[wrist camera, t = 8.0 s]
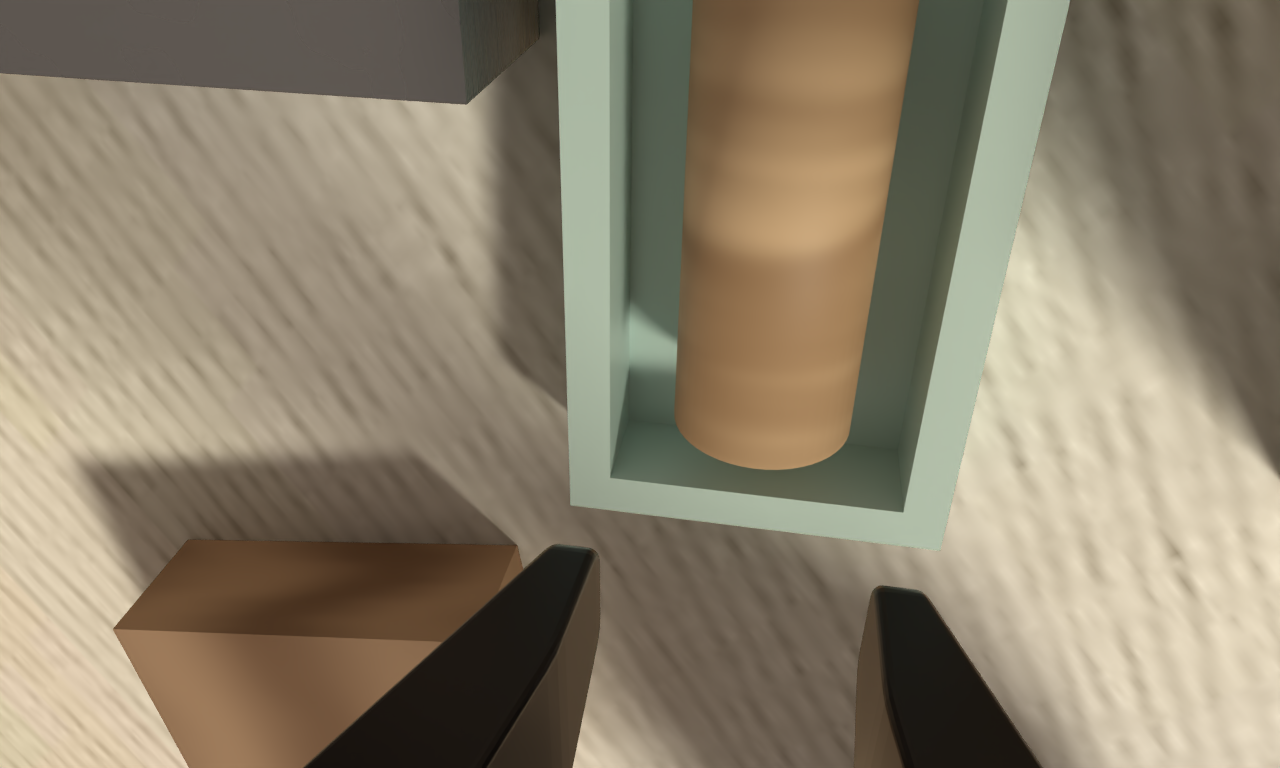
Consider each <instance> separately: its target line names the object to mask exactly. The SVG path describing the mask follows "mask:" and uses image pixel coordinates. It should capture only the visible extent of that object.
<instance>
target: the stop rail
mask: <svg viewBox="0 0 1280 768" xmlns="http://www.w3.org/2000/svg"><path fill="white" fill-rule="evenodd" d="M538 39H539V22H538V0H0V73H6V74H21V75H36V76H51V77H65V78H80V79H95V80H110V81H125V82H140V83H154V84H169V85H184V86H199V87H214V88H229V89H243V90H258V91H273V92H288V93H303V94H318V95H332V96H347V97H362V98H377V99H392V100H407V101H421V102H436V103H451V104H466V105H467V104H468V103H469V102H470V101H471V100H472V99H473V98H474V97H475V96H476V95H478V94H479V93H480V92H481V91H482V90H483V89H484V88H485V87H486V86H487V85H489V84H490V83H491V82H492V81H493V80H494V79H495V78H496V77H497V76H498V75H500V74H501V73H502V72H503V71H504V70H505V69H506V68H507V67H508V66H509V65H511V64H512V63H513V62H514V61H515V60H516V59H517V58H518V57H519V56H520V55H522V54H523V53H524V52H525V51H526V50H527V49H528V48H529V47H530V46H531V45H533V44H534V43H535V42H536V41H537V40H538Z"/></svg>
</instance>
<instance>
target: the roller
mask: <svg viewBox="0 0 1280 768" xmlns="http://www.w3.org/2000/svg"><path fill="white" fill-rule="evenodd" d="M918 6H919V0H693V7H692V29H691V51H690V74H689V96H688V118H687V140H686V162H685V184H684V207H683V229H682V251H681V273H680V295H679V317H678V339H677V362H676V384H675V406H674V417H675V422H676V425H677V427H678V429H679V431H680V433H681V434H682V435H683V436H684V438H685V439H686V440H687V441H688V442H689V443H690V444H692V445H693V446H694V447H696V448H697V449H698V450H700V451H702V452H703V453H705V454H707V455H709V456H711V457H713V458H716V459H718V460H721V461H723V462H726V463H729V464H733V465H737V466H741V467H747V468H753V469H763V470H783V469H793V468H800V467H804V466H808V465H812V464H815V463H817V462H820V461H822V460H824V459H826V458H828V457H830V456H832V455H833V454H834V453H836V452H837V451H838V450H839V449H840V448H841V447H842V446H843V445H844V443H845V442H846V440H847V438H848V436H849V431H850V425H851V419H852V413H853V407H854V401H855V394H856V388H857V382H858V376H859V370H860V364H861V357H862V351H863V345H864V339H865V333H866V327H867V320H868V314H869V308H870V302H871V296H872V290H873V283H874V277H875V271H876V265H877V259H878V253H879V246H880V240H881V234H882V228H883V222H884V216H885V209H886V203H887V197H888V191H889V185H890V179H891V172H892V166H893V160H894V154H895V148H896V142H897V135H898V129H899V123H900V117H901V111H902V105H903V98H904V92H905V86H906V80H907V74H908V68H909V61H910V55H911V49H912V43H913V37H914V31H915V24H916V18H917V12H918Z"/></svg>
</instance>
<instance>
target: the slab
mask: <svg viewBox="0 0 1280 768" xmlns="http://www.w3.org/2000/svg"><path fill="white" fill-rule="evenodd" d="M522 570H523V567H522V563H521V559H520V555H519V551H518V547H517V545H476V544H417V543H357V542H298V541H239V540H187V542H186V543H185V544H184V545H183V546H182V548H181V549H180V550H179V551H178V552H177V553H176V555H175V556H174V557H173V558H172V559H171V561H170V562H169V563H168V564H167V565H166V567H165V568H164V569H163V570H162V571H161V572H160V574H159V575H158V576H157V577H156V578H155V580H154V581H153V582H152V583H151V584H150V586H149V587H148V588H147V589H146V590H145V591H144V593H143V594H142V595H141V596H140V597H139V599H138V600H137V601H136V602H135V603H134V605H133V606H132V607H131V608H130V609H129V611H128V612H127V613H126V614H125V615H124V616H123V618H122V619H121V620H120V621H119V622H118V624H117V625H116V626H115V627H114V628H113V630H114V632H115V634H116V636H117V638H118V639H119V641H120V643H121V645H122V647H123V648H124V650H125V652H126V654H127V656H128V658H129V659H130V661H131V663H132V665H133V667H134V668H135V670H136V672H137V674H138V676H139V678H140V679H141V681H142V683H143V685H144V687H145V688H146V690H147V692H148V694H149V696H150V698H151V699H152V701H153V703H154V705H155V707H156V708H157V710H158V712H159V714H160V716H161V718H162V719H163V721H164V723H165V725H166V727H167V728H168V730H169V732H170V734H171V736H172V738H173V739H174V741H175V743H176V745H177V747H178V748H179V750H180V752H181V754H182V756H183V758H184V759H185V761H186V763H187V765H188V767H189V768H303V767H304V766H305V765H306V764H307V763H308V762H309V761H310V760H312V759H313V758H314V757H315V756H316V755H317V754H318V753H319V752H320V751H322V750H323V749H324V748H325V747H326V746H327V745H328V744H329V743H330V742H332V741H333V740H334V739H335V738H336V737H337V736H338V735H339V734H341V733H342V732H343V731H344V730H345V729H346V728H347V727H348V726H349V725H351V724H352V723H353V722H354V721H355V720H356V719H357V718H358V717H359V716H361V715H362V714H363V713H364V712H365V711H366V710H367V709H368V708H369V707H371V706H372V705H373V704H374V703H375V702H376V701H377V700H378V699H380V698H381V697H382V696H383V695H384V694H385V693H386V692H387V691H388V690H390V689H391V688H392V687H393V686H394V685H395V684H396V683H397V682H398V681H400V680H401V679H402V678H403V677H404V676H405V675H406V674H407V673H408V672H410V671H411V670H412V669H413V668H414V667H415V666H416V665H417V664H419V663H420V662H421V661H422V660H423V659H424V658H425V657H426V656H427V655H429V654H430V653H431V652H432V651H433V650H434V649H435V648H436V647H437V646H439V645H440V644H441V643H442V642H443V641H444V640H445V639H446V638H447V637H449V636H450V635H451V634H452V633H453V632H454V631H455V630H456V629H458V628H459V627H460V626H461V625H462V624H463V623H464V622H465V621H466V620H468V619H469V618H470V617H471V616H472V615H473V614H474V613H475V612H476V611H478V610H479V609H480V608H481V607H482V606H483V605H484V604H485V603H486V602H488V601H489V600H490V599H491V598H492V597H493V596H494V595H495V594H497V593H498V592H499V591H500V590H501V589H502V588H503V587H504V586H505V585H507V584H508V583H509V582H510V581H511V580H512V579H513V578H514V577H515V576H517V575H518V574H519V573H520V572H521V571H522Z"/></svg>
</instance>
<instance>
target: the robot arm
mask: <svg viewBox="0 0 1280 768" xmlns="http://www.w3.org/2000/svg"><path fill="white" fill-rule="evenodd" d="M599 630H600V560H599V556H598V553H597V552H596V551H595V550H593V549H591V548H585V547H577V546H569V545H561V544H556V545H552V546H550V547H548V548H547V549H546V550H544V551H543V552H542V553H541V554H540V555H539V556H538V557H537V558H535V559H534V560H533V561H532V562H531V563H530V564H529V565H528V566H527V567H525V568H524V569H523V570H522V571H521V572H520V573H519V574H518V575H517V576H515V577H514V578H513V579H512V580H511V581H510V582H509V583H508V584H507V585H505V586H504V587H503V588H502V589H501V590H500V591H499V592H498V593H497V594H495V595H494V596H493V597H492V598H491V599H490V600H489V601H488V602H486V603H485V604H484V605H483V606H482V607H481V608H480V609H479V610H478V611H476V612H475V613H474V614H473V615H472V616H471V617H470V618H469V619H468V620H466V621H465V622H464V623H463V624H462V625H461V626H460V627H459V628H458V629H456V630H455V631H454V632H453V633H452V634H451V635H450V636H449V637H447V638H446V639H445V640H444V641H443V642H442V643H441V644H440V645H439V646H437V647H436V648H435V649H434V650H433V651H432V652H431V653H430V654H429V655H427V656H426V657H425V658H424V659H423V660H422V661H421V662H420V663H419V664H417V665H416V666H415V667H414V668H413V669H412V670H411V671H410V672H408V673H407V674H406V675H405V676H404V677H403V678H402V679H401V680H400V681H398V682H397V683H396V684H395V685H394V686H393V687H392V688H391V689H390V690H388V691H387V692H386V693H385V694H384V695H383V696H382V697H381V698H380V699H378V700H377V701H376V702H375V703H374V704H373V705H372V706H371V707H369V708H368V709H367V710H366V711H365V712H364V713H363V714H362V715H361V716H359V717H358V718H357V719H356V720H355V721H354V722H353V723H352V724H351V725H349V726H348V727H347V728H346V729H345V730H344V731H343V732H342V733H341V734H339V735H338V736H337V737H336V738H335V739H334V740H333V741H332V742H330V743H329V744H328V745H327V746H326V747H325V748H324V749H323V750H322V751H320V752H319V753H318V754H317V755H316V756H315V757H314V758H313V759H312V760H310V761H309V762H308V763H307V764H306V765H305V766H304V767H303V768H572V767H573V763H574V758H575V753H576V748H577V743H578V738H579V733H580V728H581V723H582V718H583V713H584V708H585V703H586V698H587V693H588V688H589V683H590V678H591V673H592V669H593V664H594V659H595V654H596V649H597V644H598V638H599ZM854 768H1043V767H1042V766H1041V764H1040V763H1039V761H1038V760H1037V758H1036V757H1035V755H1034V754H1033V752H1032V751H1031V750H1030V748H1029V747H1028V745H1027V744H1026V742H1025V741H1024V739H1023V738H1022V736H1021V735H1020V733H1019V732H1018V730H1017V729H1016V727H1015V726H1014V724H1013V723H1012V721H1011V720H1010V718H1009V717H1008V715H1007V714H1006V712H1005V711H1004V709H1003V708H1002V706H1001V705H1000V703H999V702H998V700H997V699H996V697H995V696H994V694H993V693H992V691H991V690H990V689H989V687H988V686H987V684H986V683H985V681H984V680H983V678H982V677H981V675H980V674H979V672H978V671H977V669H976V668H975V666H974V665H973V663H972V662H971V660H970V659H969V657H968V656H967V654H966V653H965V651H964V650H963V648H962V647H961V645H960V644H959V642H958V641H957V639H956V638H955V636H954V635H953V633H952V632H951V630H950V629H949V628H948V626H947V625H946V623H945V622H944V620H943V619H942V617H941V616H940V614H939V613H938V611H937V610H936V608H935V607H934V605H933V604H932V602H931V601H930V599H929V598H928V597H927V595H925V594H924V593H923V592H921V591H918V590H913V589H905V588H897V587H890V586H878V587H876V588H875V589H874V590H873V591H872V593H871V597H870V601H869V606H868V612H867V617H866V622H865V627H864V633H863V638H862V643H861V648H860V654H859V660H858V670H857V689H856V719H855V750H854Z"/></svg>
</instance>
